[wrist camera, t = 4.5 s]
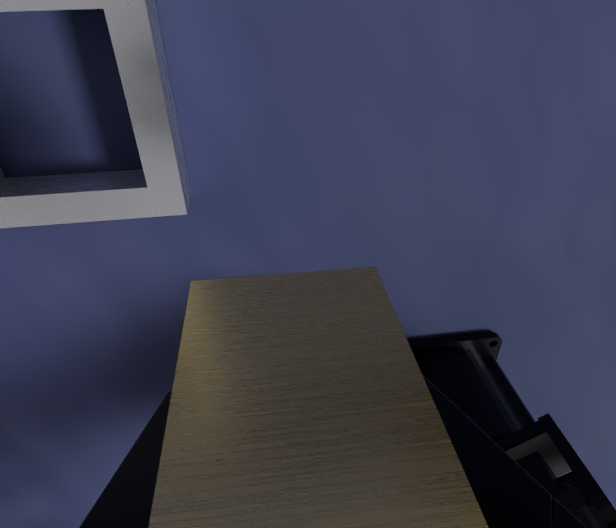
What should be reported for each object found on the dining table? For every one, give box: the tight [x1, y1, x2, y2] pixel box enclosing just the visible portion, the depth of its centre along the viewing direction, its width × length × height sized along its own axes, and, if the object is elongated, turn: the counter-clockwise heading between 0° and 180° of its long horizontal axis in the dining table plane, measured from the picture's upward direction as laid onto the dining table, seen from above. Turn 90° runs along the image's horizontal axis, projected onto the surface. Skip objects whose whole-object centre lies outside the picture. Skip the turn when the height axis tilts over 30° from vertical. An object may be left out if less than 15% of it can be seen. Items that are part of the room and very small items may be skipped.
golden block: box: [148, 267, 488, 528], centre depth 8 cm, size 4×4×6 cm
